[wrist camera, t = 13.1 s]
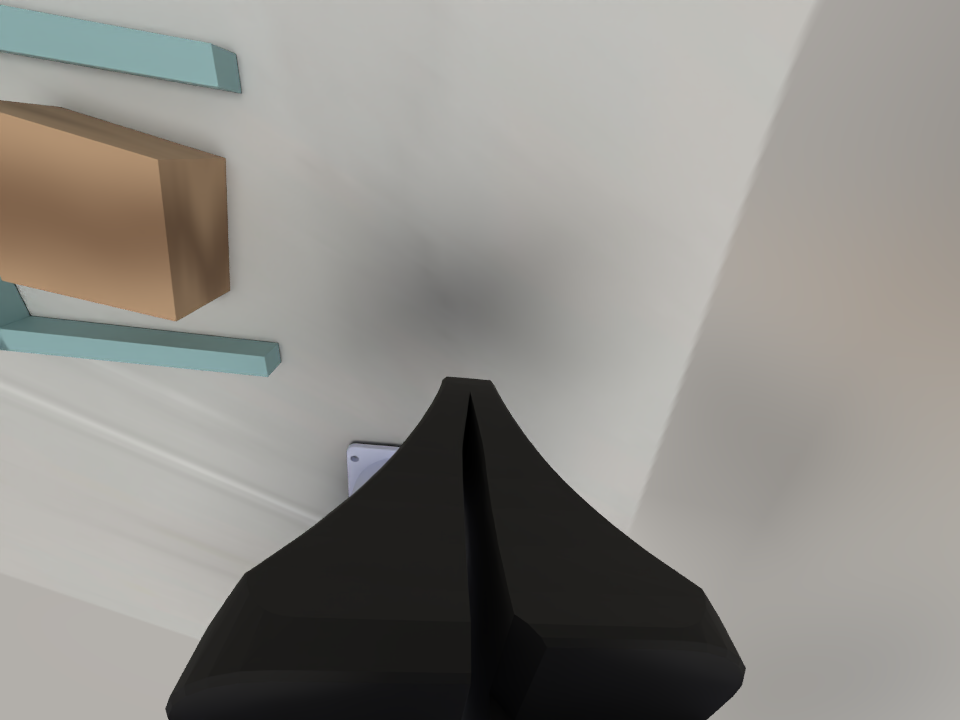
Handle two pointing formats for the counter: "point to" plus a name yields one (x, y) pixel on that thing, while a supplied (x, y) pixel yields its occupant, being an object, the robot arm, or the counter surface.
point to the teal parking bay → (149, 55)
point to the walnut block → (110, 213)
